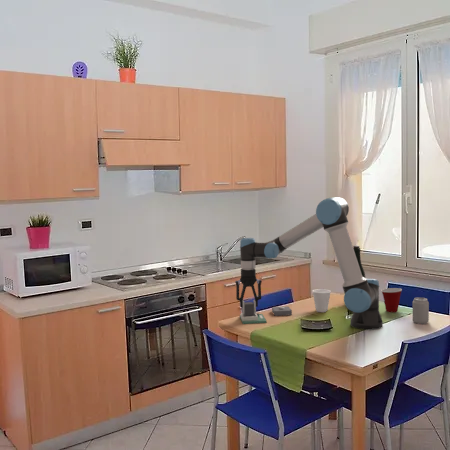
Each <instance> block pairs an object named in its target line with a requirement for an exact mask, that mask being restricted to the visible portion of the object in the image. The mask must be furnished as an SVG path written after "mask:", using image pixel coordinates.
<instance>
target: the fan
mask: <svg viewBox="0 0 450 450" xmlns="http://www.w3.org/2000/svg"><path fill="white" fill-rule="evenodd" d="M271 311H272V314H273V315H274V316H275V317H278V316H280V317H281V316H282V315H283V316H293V310H292V309H291V308H290V306H287V305H285V306H273V307H271Z"/></svg>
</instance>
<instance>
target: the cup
mask: <svg viewBox="0 0 450 450" xmlns="http://www.w3.org/2000/svg"><path fill="white" fill-rule="evenodd" d="M311 292H312V295H313V300H314V305H315V306H314V307H315V311H316V312H317V313H326V311H328V309H329V304H330V297H331V292H332V290H329V289H324V288H318V289H312V291H311Z"/></svg>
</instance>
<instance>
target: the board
mask: <svg viewBox="0 0 450 450" xmlns="http://www.w3.org/2000/svg"><path fill="white" fill-rule="evenodd" d="M239 318H240V321H241V323H242V325H248V324H249V325H250V324H267V320H266V318H265V316H264V314H263V313H259V312H258V313H257V312H256V314H254V316H245V317H244V314H243V313H242V312H241V313H240V314H239Z"/></svg>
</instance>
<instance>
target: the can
mask: <svg viewBox="0 0 450 450" xmlns="http://www.w3.org/2000/svg"><path fill="white" fill-rule="evenodd" d="M429 305H430V303H429V301H428V298H425V297H414V299H413V301H412V321H413V323H414V324H418V325H426V324H428V323H429V320H430V319H429V318H430V316H429V315H430V311H429V307H430V306H429Z"/></svg>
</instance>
